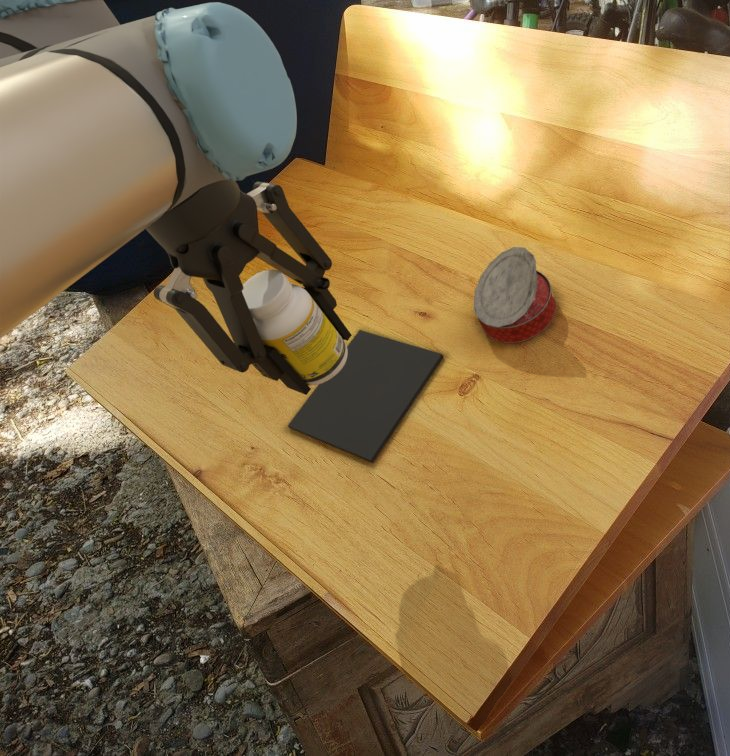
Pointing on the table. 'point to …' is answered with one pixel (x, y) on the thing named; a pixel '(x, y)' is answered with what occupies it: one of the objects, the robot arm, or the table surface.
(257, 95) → the robot arm
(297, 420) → the mat
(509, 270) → the canned food
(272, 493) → the table surface
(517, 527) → the table surface
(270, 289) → the pill bottle
